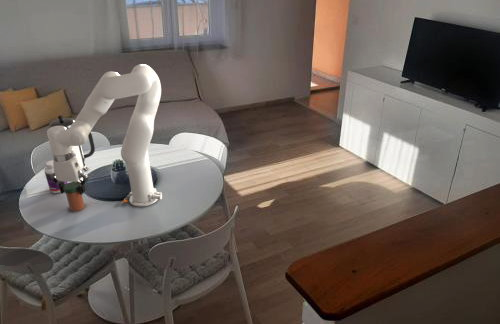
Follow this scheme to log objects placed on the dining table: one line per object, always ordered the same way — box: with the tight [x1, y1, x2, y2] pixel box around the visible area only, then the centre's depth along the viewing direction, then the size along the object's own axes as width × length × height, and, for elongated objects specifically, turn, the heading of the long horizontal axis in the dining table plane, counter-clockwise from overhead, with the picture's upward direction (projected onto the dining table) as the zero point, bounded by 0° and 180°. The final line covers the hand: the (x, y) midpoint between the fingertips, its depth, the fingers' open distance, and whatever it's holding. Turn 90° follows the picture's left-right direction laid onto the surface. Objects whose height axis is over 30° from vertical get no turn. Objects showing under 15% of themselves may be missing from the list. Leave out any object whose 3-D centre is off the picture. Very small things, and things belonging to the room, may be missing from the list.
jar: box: [65, 191, 85, 212], centre depth 176 cm, size 6×6×10 cm
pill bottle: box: [44, 159, 68, 194], centre depth 190 cm, size 8×8×14 cm
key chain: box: [118, 190, 132, 205], centre depth 183 cm, size 13×4×2 cm, turn 163°
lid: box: [63, 182, 79, 194], centre depth 174 cm, size 7×7×2 cm
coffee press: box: [48, 114, 96, 172], centre depth 205 cm, size 17×16×30 cm
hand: (73, 192), depth 175 cm, fingers open, 8 cm apart
